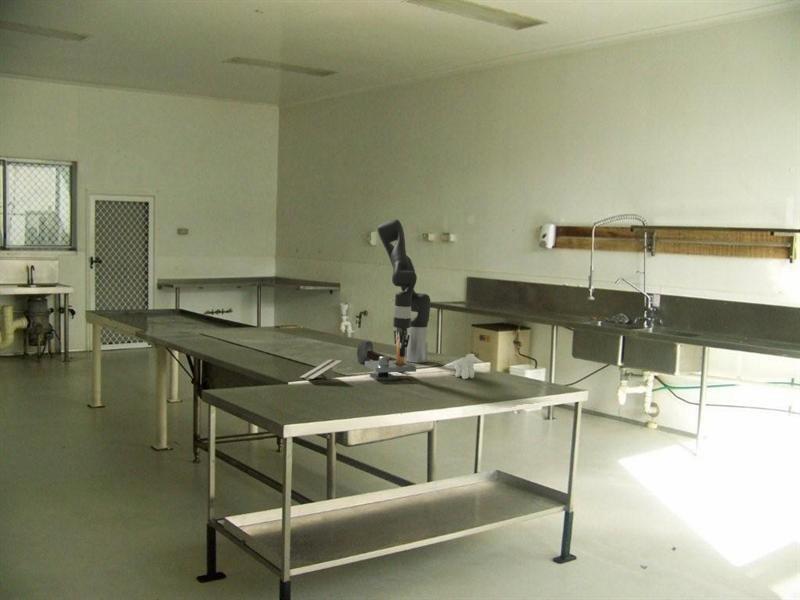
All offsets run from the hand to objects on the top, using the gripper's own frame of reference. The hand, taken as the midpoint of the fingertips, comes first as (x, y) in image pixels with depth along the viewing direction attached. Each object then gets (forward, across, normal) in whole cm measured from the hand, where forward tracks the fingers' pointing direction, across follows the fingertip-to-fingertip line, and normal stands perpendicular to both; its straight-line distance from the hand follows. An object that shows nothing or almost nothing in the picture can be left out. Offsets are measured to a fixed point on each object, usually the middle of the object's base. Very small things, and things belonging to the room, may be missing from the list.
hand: (400, 355), depth 366 cm
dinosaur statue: (+10, +2, +28) cm, 30 cm away
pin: (+5, 0, 0) cm, 5 cm away
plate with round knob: (+10, 0, -5) cm, 11 cm away
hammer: (+10, -24, 0) cm, 26 cm away
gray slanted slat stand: (+10, +2, -36) cm, 37 cm away
